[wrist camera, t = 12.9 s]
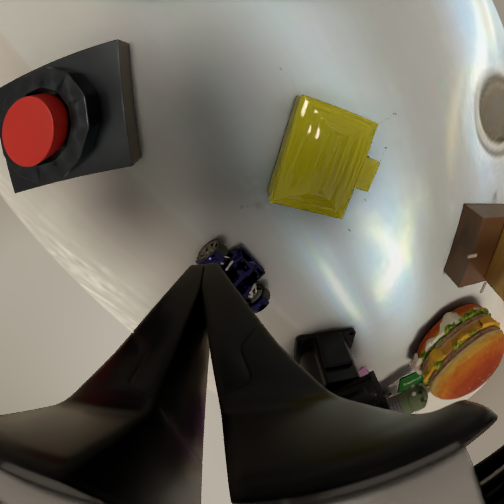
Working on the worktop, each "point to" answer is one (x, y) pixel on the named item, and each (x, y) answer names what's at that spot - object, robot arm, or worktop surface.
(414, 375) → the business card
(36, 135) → the button
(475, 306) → the burger
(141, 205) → the worktop surface
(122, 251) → the worktop surface
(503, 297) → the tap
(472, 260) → the tap plate
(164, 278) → the worktop surface
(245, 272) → the toy car
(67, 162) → the switch block
